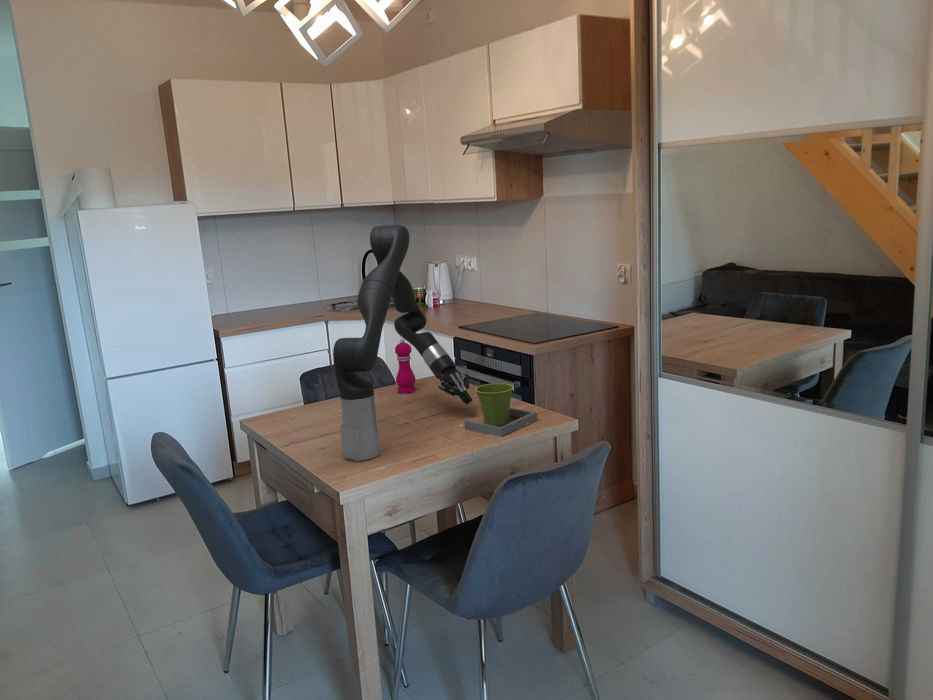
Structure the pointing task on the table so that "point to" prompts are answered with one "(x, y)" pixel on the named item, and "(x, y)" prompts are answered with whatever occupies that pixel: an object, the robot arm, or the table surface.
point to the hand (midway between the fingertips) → (469, 402)
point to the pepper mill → (404, 368)
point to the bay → (500, 431)
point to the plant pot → (495, 402)
